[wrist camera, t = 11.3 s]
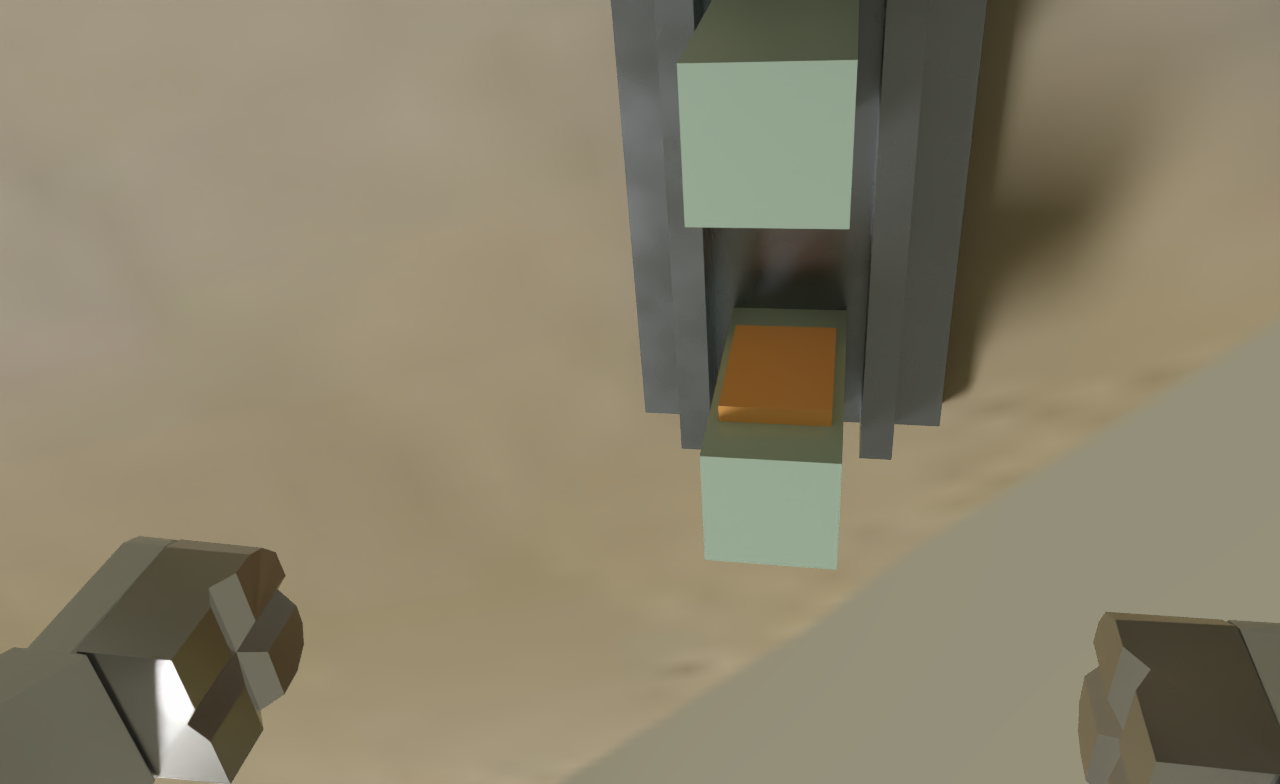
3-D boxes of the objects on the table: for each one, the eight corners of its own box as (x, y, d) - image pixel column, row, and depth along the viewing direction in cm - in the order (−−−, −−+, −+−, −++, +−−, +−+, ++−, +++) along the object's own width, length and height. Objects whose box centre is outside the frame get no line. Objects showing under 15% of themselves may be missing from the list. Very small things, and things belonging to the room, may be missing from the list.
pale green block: (722, -20, 27) (676, 63, 20) (859, -25, 26) (857, 60, 20) (726, 129, 29) (686, 247, 22) (852, 128, 28) (848, 249, 22)
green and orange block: (842, 404, 33) (836, 569, 27) (735, 399, 34) (705, 560, 28) (847, 296, 31) (842, 447, 25) (733, 293, 32) (699, 440, 25)
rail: (651, 393, 36) (634, 445, 33) (616, -52, 28) (590, -28, 25) (937, 406, 34) (943, 462, 32) (989, -69, 26) (1002, -45, 23)
